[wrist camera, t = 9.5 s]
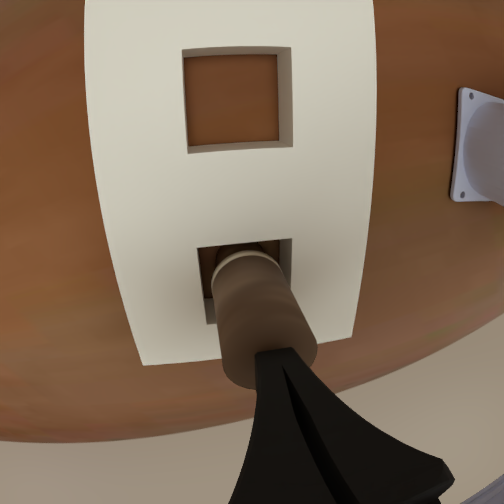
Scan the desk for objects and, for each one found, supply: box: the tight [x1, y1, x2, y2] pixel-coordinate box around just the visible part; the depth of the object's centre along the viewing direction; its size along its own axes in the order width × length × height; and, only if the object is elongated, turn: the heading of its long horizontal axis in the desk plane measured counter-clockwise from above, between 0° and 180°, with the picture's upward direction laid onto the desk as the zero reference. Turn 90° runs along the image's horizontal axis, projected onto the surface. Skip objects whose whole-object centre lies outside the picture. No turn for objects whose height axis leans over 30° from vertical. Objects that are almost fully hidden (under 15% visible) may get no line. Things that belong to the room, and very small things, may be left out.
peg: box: [211, 242, 318, 390], centre depth 15 cm, size 4×4×8 cm
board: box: [84, 0, 377, 365], centre depth 15 cm, size 13×20×2 cm, turn 2°
